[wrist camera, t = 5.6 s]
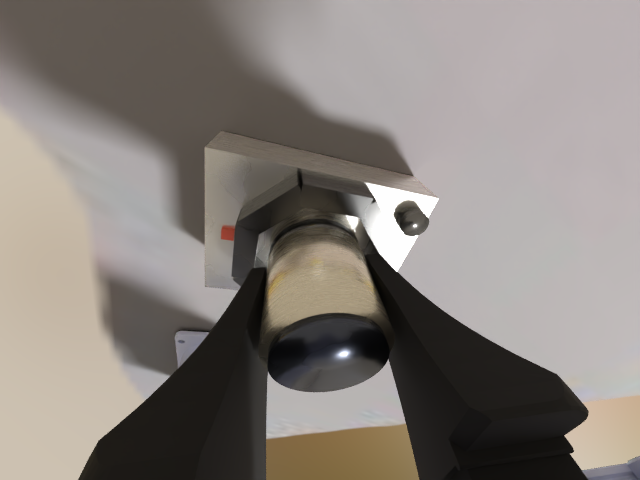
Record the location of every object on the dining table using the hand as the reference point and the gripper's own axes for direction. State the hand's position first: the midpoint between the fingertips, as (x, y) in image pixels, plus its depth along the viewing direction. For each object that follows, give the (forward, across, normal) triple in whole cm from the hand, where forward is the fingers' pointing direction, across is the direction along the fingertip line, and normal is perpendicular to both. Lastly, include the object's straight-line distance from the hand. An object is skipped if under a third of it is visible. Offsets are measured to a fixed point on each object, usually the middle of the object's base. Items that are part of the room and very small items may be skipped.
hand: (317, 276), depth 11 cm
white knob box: (+5, 0, 0) cm, 5 cm away
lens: (+2, 0, 0) cm, 2 cm away
